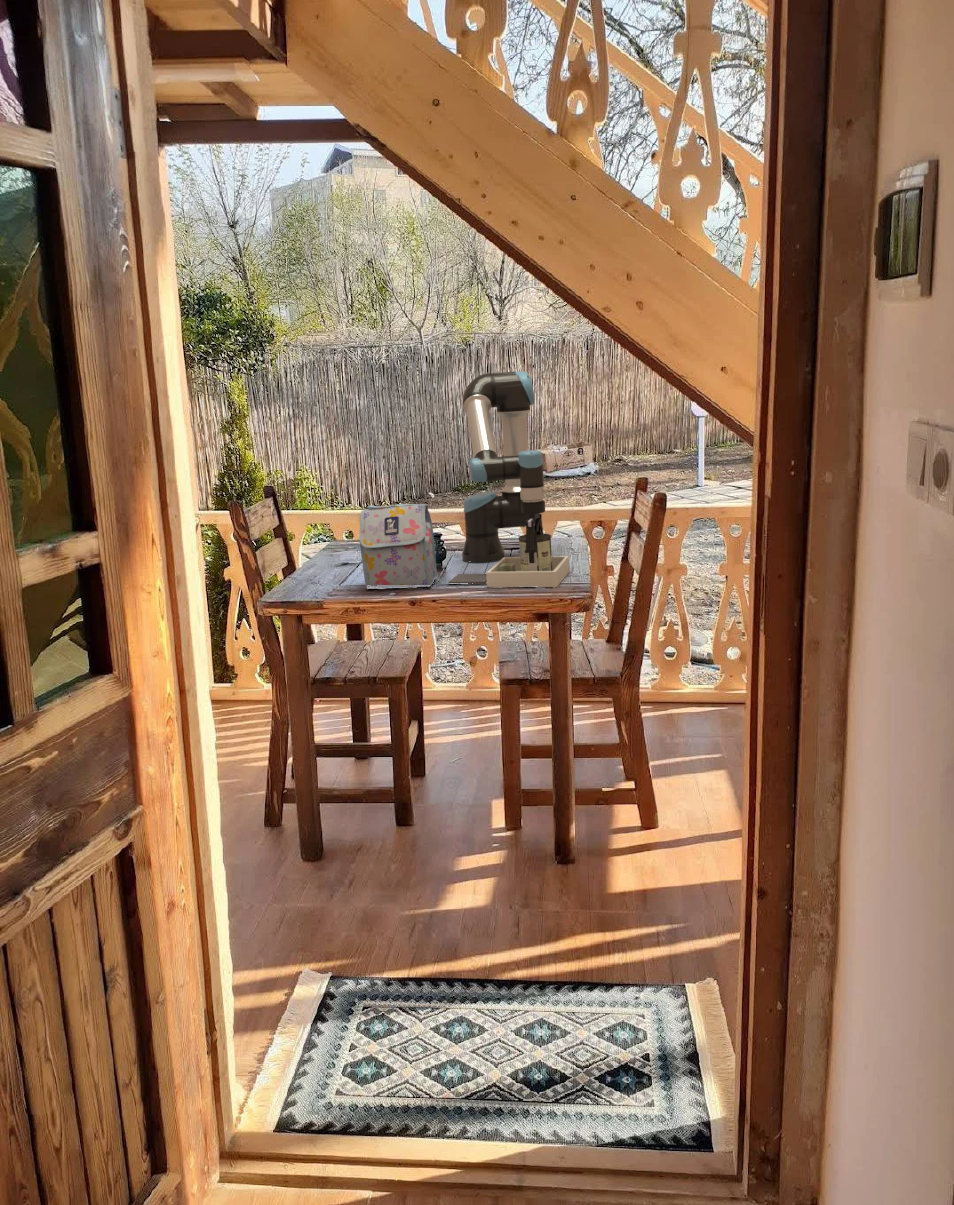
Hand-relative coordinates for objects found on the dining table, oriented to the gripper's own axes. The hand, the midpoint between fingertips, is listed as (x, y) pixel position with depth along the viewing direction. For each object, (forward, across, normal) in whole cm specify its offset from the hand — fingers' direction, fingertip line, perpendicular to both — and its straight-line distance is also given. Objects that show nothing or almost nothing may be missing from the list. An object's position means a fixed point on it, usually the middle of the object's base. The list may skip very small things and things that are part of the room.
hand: (536, 569), depth 330 cm
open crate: (+3, 0, +2) cm, 4 cm away
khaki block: (+3, 0, +10) cm, 10 cm away
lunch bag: (+4, -8, +44) cm, 44 cm away
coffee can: (+4, 0, 0) cm, 4 cm away
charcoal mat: (+3, -1, +22) cm, 22 cm away
